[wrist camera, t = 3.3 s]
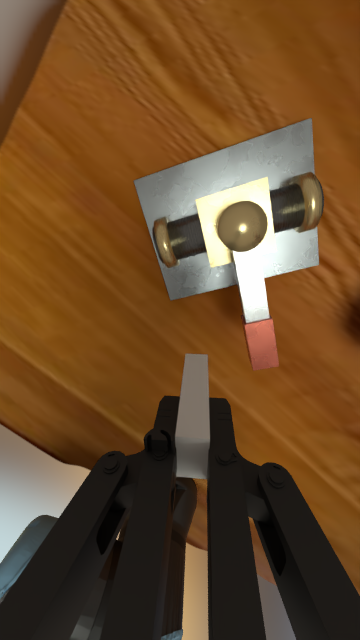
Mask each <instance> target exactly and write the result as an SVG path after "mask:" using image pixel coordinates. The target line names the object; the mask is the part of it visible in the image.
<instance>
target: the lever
mask: <svg viewBox="0 0 360 640" xmlns="http://www.w3.org/2000/svg"><path fill="white" fill-rule="evenodd" d="M216 228H217V234H218V237H219V239H220V240H221V241H222V243H223V244H224V245H225V246H226V247H227V248H228V249H230V250H231V254H232V259H233V264H234V269H235V275H236V280H237V285H238V291H239V296H240V301H241V307H242V312H243V315H241V319H242V324H243V329H244V334H245V340H246V345H247V350H248V355H249V359H250V362H251V365H252V368H253V370H259V369H265V368H271V367H277V366H279V362H278V355H277V348H276V341H275V333H274V326H273V319H272V318H271V316H270V315H269V311H268V304H267V297H266V290H265V283H264V276H263V269H262V262H261V255H260V248H259V244H260V243H261V242H262V240H263V239H264V237H265V235H266V232H267V228H268V220H267V216H266V213H265V211H264V210H263V208H262V207H261V206H260V205H258V204H257V203H255V202H252V201H240V202H237V203H234V204H232V205H230V206H228V207H227V208H225V209H224V210H223V211H222V213H221V214H220V216H219V218H218V220H217V226H216Z"/></svg>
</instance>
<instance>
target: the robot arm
mask: <svg viewBox="0 0 360 640" xmlns="http://www.w3.org/2000/svg"><path fill="white" fill-rule="evenodd" d="M144 446H145V449H144V450H143V451H141V452H139V453H136V454H133V455H129V456H125V455H124V454H123V453H121V452H120V451H112V452H108V453H106V454H105V455H103V456H102V457H101V458H100V459H99V460H98V462H97V463H96V464H95V466H94V467H93V469H92V470H91V472H90V473H89V475H88V476H87V478H86V479H85V481H84V482H83V484H82V485H81V486H80V488H79V489H78V491H77V492H76V494H75V495H74V497H73V498H72V500H71V501H70V503H69V504H68V506H67V507H66V508H65V510H64V511H63V513H62V514H61V516H60V517H59V518H56V517H52V516H49V515H41V516H39V517H37V518H36V519H34V520H33V521H32V522H31V523H30V524H29V525H28V526H27V527H26V528H25V530H24V531H23V533H22V534H21V535H20V537H19V538H18V539H17V541H16V542H15V543H14V545H13V546H12V548H11V549H10V551H9V552H8V553H7V555H6V556H5V558H4V559H3V561H2V562H1V563H0V640H181V639H182V635H183V629H182V618H183V595H184V572H185V548H186V538H187V534H188V531H189V528H190V525H191V522H192V518H193V515H194V512H195V509H196V504H197V488H196V485H195V483H194V481H193V480H192V479H191V478H199V479H207V484H208V486H207V532H208V626H209V627H208V629H209V640H266V635H265V627H264V621H263V614H262V607H261V601H260V593H259V586H258V579H257V573H256V566H255V559H254V552H253V545H252V538H251V531H250V525H249V518H248V516H249V517H251V518H253V521H254V524H255V526H256V529H257V532H258V535H259V537H260V540H261V543H262V546H263V548H264V551H265V554H266V557H267V560H268V562H269V565H270V568H271V571H272V573H273V576H274V579H275V582H276V584H277V587H278V590H279V593H280V595H281V598H282V601H283V604H284V606H285V609H286V612H287V615H288V618H289V620H290V623H291V626H292V629H293V631H294V634H295V637H296V640H360V596H359V594H358V592H357V590H356V589H355V587H354V585H353V583H352V582H351V580H350V578H349V576H348V575H347V573H346V571H345V569H344V568H343V566H342V564H341V562H340V561H339V559H338V557H337V555H336V554H335V552H334V550H333V548H332V547H331V545H330V543H329V541H328V540H327V538H326V536H325V534H324V533H323V531H322V529H321V527H320V525H319V524H318V522H317V520H316V518H315V517H314V515H313V513H312V511H311V510H310V508H309V506H308V504H307V503H306V501H305V499H304V497H303V496H302V494H301V492H300V490H299V489H298V487H297V485H296V483H295V482H294V480H293V478H292V476H291V475H290V474H289V472H288V471H287V470H286V469H285V468H284V467H282V466H281V465H279V464H276V463H265V464H263V465H262V466H259V465H256V464H254V463H251V462H249V461H247V460H246V459H244V458H243V457H242V456H241V455H240V454H239V452H238V450H237V448H236V443H235V436H234V429H233V422H232V415H231V408H230V404H229V403H228V401H227V400H226V399H224V398H209V386H208V355H204V354H186V355H185V363H184V371H183V379H182V387H181V394H180V397H179V396H164V397H163V398H162V400H161V401H160V403H159V407H158V411H157V416H156V420H155V424H154V428H153V429H152V430H150V431H149V432H148V433H147V434H146V435H145V437H144ZM120 529H121V530H120ZM119 532H120V534H119V538H118V540H116V538H117V536H118V533H119Z"/></svg>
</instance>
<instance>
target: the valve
mask: <svg viewBox="0 0 360 640" xmlns="http://www.w3.org/2000/svg"><path fill="white" fill-rule="evenodd" d="M134 184H135V187H136V190H137V193H138V196H139V200H140V203H141V206H142V209H143V213H144V216H145V219H146V222H147V226H148V229H149V232H150V235H151V239H152V242H153V245H154V248H155V251H156V255H157V258H158V261H159V264H160V268H161V271H162V274H163V277H164V281H165V284H166V287H167V290H168V294H169V297H170V300H175V299H179V298H183V297H187V296H191V295H195V294H199V293H204V292H208V291H212V290H216V289H220V288H224V287H228V286H233V285H237V280H236V275H235V269H234V264H233V259H232V254H231V250H230V249H228V248H227V247H226V246H225V245H224V244H223V243H222V241H221V240H220V239H219V237H218V234H217V228H216V226H217V220H218V218H219V216H220V214H221V213H222V211H223V210H224V209H225V208H227V207H228V206H230V205H232V204H234V203H237V202H240V201H252V202H255V203H257V204H258V205H260V206H261V207H262V208H263V210H264V211H265V213H266V216H267V220H268V228H267V232H266V235H265V237H264V239H263V240H262V242H261V243H260V244H259V248H260V255H261V262H262V269H263V276H264V278H266V277H270V276H274V275H278V274H282V273H287V272H291V271H295V270H299V269H303V268H307V267H311V266H316V265H319V256H318V236H317V225H318V223H319V221H320V218H321V216H322V212H323V206H324V196H323V190H322V187H321V184H320V182H319V181H318V179H317V177H316V176H315V175H314V156H313V136H312V118H310V119H307V120H304V121H301V122H299V123H296V124H293V125H290V126H287V127H284V128H282V129H279V130H276V131H273V132H270V133H267V134H265V135H262V136H259V137H256V138H253V139H250V140H248V141H245V142H242V143H239V144H236V145H233V146H231V147H228V148H225V149H222V150H219V151H216V152H214V153H211V154H208V155H205V156H202V157H199V158H197V159H194V160H191V161H188V162H185V163H182V164H180V165H177V166H174V167H171V168H168V169H165V170H163V171H160V172H157V173H154V174H151V175H148V176H146V177H143V178H140V179H137V180H134Z"/></svg>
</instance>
